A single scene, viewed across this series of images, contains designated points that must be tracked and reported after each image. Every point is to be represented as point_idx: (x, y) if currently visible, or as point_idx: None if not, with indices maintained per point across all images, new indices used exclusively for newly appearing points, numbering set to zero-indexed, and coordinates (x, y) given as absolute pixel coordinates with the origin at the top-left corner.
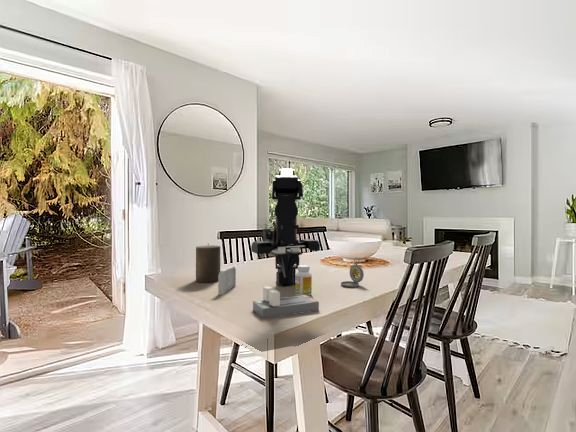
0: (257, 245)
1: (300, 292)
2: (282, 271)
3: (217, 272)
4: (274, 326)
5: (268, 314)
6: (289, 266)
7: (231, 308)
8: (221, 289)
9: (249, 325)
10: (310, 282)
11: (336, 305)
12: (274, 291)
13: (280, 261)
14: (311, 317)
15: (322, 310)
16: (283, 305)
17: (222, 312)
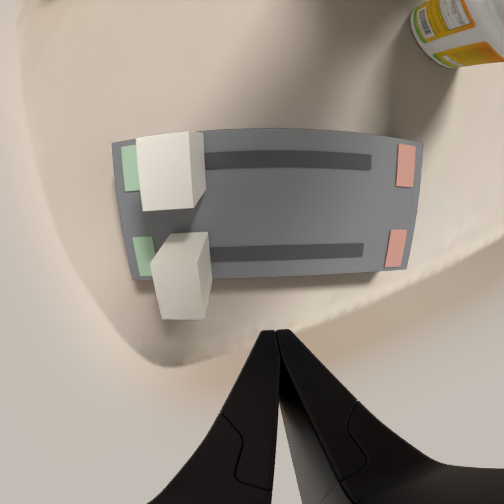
0: None
1: (429, 43)
2: (246, 364)
3: None
4: (170, 335)
5: None
6: (292, 457)
7: (62, 100)
8: None
9: (100, 300)
10: (493, 62)
11: (462, 227)
12: (178, 292)
13: (213, 470)
14: (321, 309)
15: None
16: (236, 266)
17: (32, 145)
